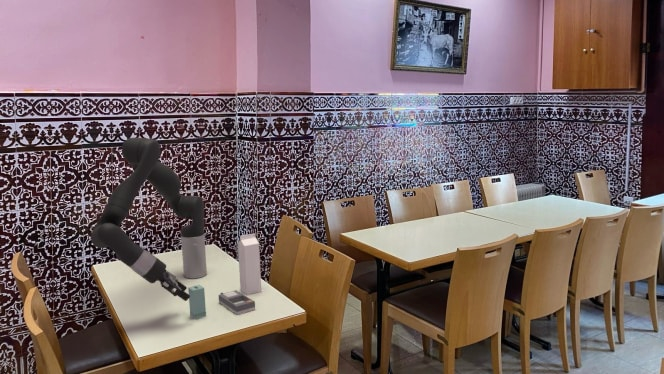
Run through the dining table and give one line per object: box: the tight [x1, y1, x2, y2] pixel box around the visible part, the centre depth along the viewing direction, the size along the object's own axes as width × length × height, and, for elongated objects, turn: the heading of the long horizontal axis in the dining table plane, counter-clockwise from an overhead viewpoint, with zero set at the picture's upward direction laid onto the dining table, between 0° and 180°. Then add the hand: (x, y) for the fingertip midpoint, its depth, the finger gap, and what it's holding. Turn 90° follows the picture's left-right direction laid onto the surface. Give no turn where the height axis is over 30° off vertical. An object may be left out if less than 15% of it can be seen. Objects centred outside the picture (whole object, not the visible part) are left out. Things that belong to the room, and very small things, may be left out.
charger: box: [187, 284, 207, 320], centre depth 187 cm, size 4×4×10 cm
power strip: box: [218, 289, 256, 315], centre depth 197 cm, size 19×7×3 cm, turn 37°
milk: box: [237, 232, 262, 296], centre depth 208 cm, size 6×6×22 cm
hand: (186, 294), depth 186 cm, fingers open, 8 cm apart
